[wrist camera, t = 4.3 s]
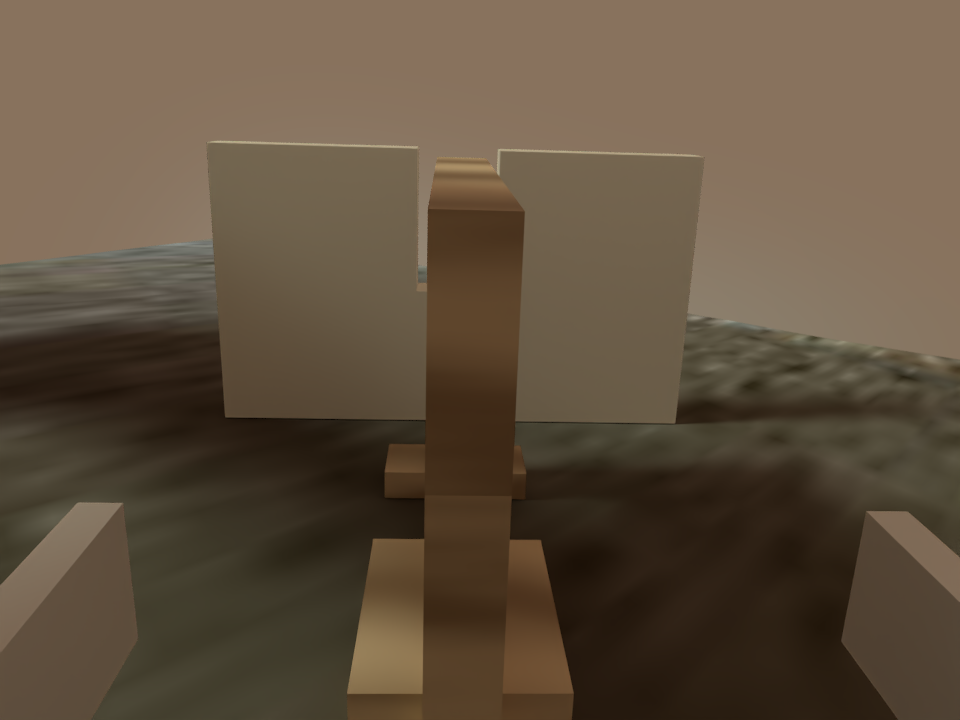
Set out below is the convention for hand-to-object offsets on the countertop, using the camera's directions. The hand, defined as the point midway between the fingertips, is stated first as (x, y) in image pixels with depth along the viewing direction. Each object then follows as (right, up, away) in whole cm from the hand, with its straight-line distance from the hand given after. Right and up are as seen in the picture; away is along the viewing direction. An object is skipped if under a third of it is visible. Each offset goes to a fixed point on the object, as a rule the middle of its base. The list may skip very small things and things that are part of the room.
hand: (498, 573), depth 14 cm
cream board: (-2, +1, +30) cm, 30 cm away
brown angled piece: (-1, -4, +15) cm, 15 cm away
